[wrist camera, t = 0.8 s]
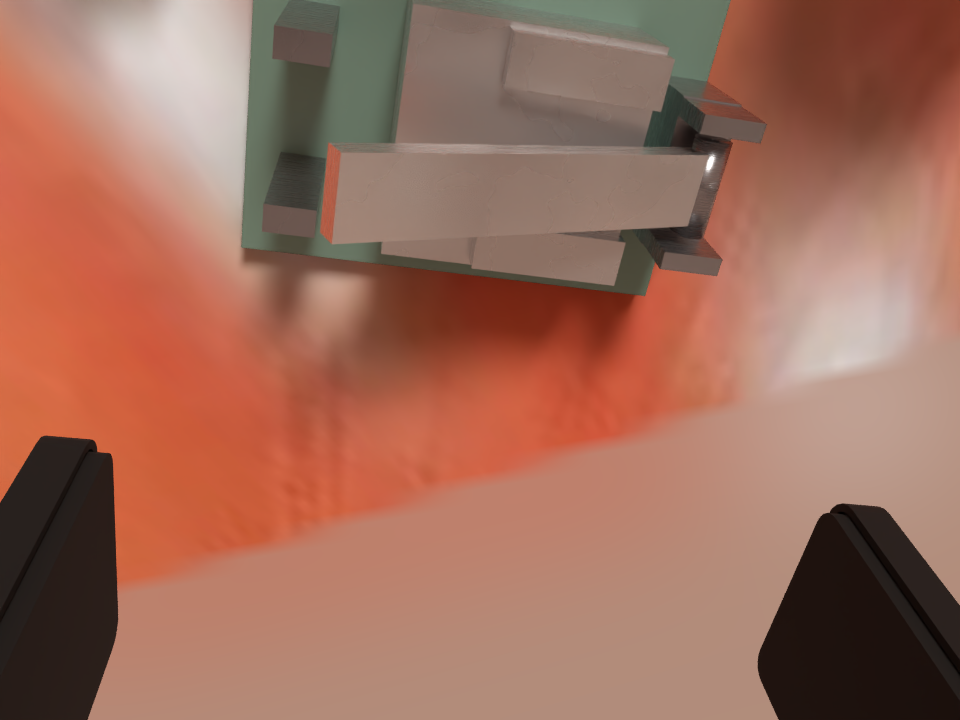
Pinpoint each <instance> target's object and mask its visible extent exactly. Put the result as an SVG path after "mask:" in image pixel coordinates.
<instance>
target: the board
mask: <svg viewBox="0 0 960 720" xmlns="http://www.w3.org/2000/svg"><path fill="white" fill-rule="evenodd" d="M306 1H312V2H318V3H324V4H330V5H336V6H340V10H339V21H338V32H337V38H336V42H335V46H334V51H333V55H332V60H331V64H330V68H329V67H322V66H316V65H310V64H303V63H297V62H291V61H284V60H278V59H272V52H273V35H274V24H275V23H276V21H277V20H278V18H279V16H280V15H281V13H282V12H283V10H284V8H285V7H286V5H287V4H288V2H289V0H253V18H252V38H251V59H250V80H249V100H248V121H247V141H246V162H245V183H244V203H243V224H242V245H241V247H243V248H251V249H259V250H268V251H276V252H284V253H292V254H301V255H309V256H317V257H326V258H334V259H342V260H351V261H359V262H367V263H376V264H384V265H392V266H400V267H409V268H417V269H425V270H434V271H442V272H450V273H459V274H467V275H475V276H483V277H492V278H500V279H508V280H517V281H525V282H533V283H542V284H550V285H558V286H567V287H575V288H583V289H591V290H600V291H608V292H616V293H625V294H633V295H641V296H645V294H646V291H647V288H648V284H649V281H650V277H651V274H652V270H653V267H654V263H655V261H654V259H653V258H652V256H651V255H650V253H649V252H648V251H647V249H646V248H645V246H644V245H642V244H641V242H640V241H639V239H638V238H637V236H636V235H635V233H634V232H633V231H632V229H625V230H621V232H620V235H621V236H622V238H623V239H624V241H625V242H626V243H625V247H624V251H623V255H622V258H621V262H620V266H619V269H618V273H617V277H616V281H615V284H614V286H612V285H603V284H595V283H587V282H579V281H571V280H562V279H554V278H546V277H538V276H529V275H521V274H513V273H505V272H497V271H488V270H480V269H472V268H471V265H469V264H461V263H453V262H445V261H436V260H428V259H420V258H412V257H404V256H396V255H387V254H381V242H368V243H348V244H331V243H330V242H329V241H328V240H327V239H326V238H325V237H324V236H323V235H322V234H321V233H320V227H321V216H322V206H323V195H324V184H325V173H326V163H327V152H328V142H349V143H390V137H391V129H392V121H393V113H394V105H395V97H396V89H397V82H398V74H399V66H400V58H401V50H402V42H403V34H404V26H405V18H406V10H407V2H408V0H306ZM485 1H490V2H496V3H502V4H508V5H513V6H519V7H525V8H530V9H536V10H542V11H548V12H553V13H559V14H565V15H570V16H576V17H582V18H587V19H593V20H599V21H605V22H610V23H616V24H622V25H627V26H633V27H638V28H640V29H641V30H643V31H645V32H646V33H648V34H649V35H651V36H652V37H654V38H655V39H657V40H658V41H660V42H661V43H663V44H665V45H666V46H668V47H669V51H668V55H669V56H671V57H672V58H674V59H675V62H674V65H673V69H672V73H671V76H676V77H682V78H688V79H694V80H700V81H706V82H707V80H708V77H709V73H710V70H711V66H712V63H713V60H714V56H715V53H716V49H717V46H718V42H719V39H720V35H721V32H722V28H723V25H724V22H725V18H726V15H727V11H728V8H729V4H730V1H731V0H485ZM280 152H285V153H292V154H300V155H307V156H314V157H321V158H326V162H325V173H324V183H323V189H322V195H321V201H320V207H319V213H318V219H317V225H316V231H315V237H314V238H310V237H301V236H293V235H285V234H277V233H269V232H262V219H263V204H264V201H265V198H266V195H267V192H268V189H269V186H270V183H271V180H272V176H273V173H274V170H275V167H276V164H277V161H278V158H279V155H280Z"/></svg>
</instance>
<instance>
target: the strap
mask: <svg viewBox="0 0 960 720" xmlns="http://www.w3.org/2000/svg"><path fill="white" fill-rule="evenodd" d="M732 144H733V143H732V142H731V141H729V140H727V139H725V138H722V137H716V136H710V135H703V134H696V135H695V138H694V142H693V145H692V147H636V146H564V145H492V144H421V143H349V142H328V152H327V163H326V173H325V184H324V195H323V206H322V216H321V227H320V233H321V234H322V235H323V236H324V237H325V238H326V239H327V240H328V241H329V242H330V243H331V244H348V243H368V242H387V241H407V240H427V239H447V238H466V237H486V236H506V235H526V234H546V233H565V232H585V231H605V230H625V229H644V228H664V227H669V228H668V229H669V231H670V232H672V233H674V234H675V235H678V236H681V237H684V238H688V239H702V238H703V237H704V234H705V230H706V227H707V224H708V221H709V218H710V214H711V211H712V208H713V205H714V202H715V198H716V195H717V192H718V189H719V186H720V182H721V179H722V176H723V173H724V170H725V167H726V163H727V160H728V157H729V154H730V151H731V147H732Z"/></svg>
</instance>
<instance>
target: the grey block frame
mask: <svg viewBox="0 0 960 720" xmlns="http://www.w3.org/2000/svg"><path fill="white" fill-rule="evenodd" d="M339 10H340V6H336V5H330V4H324V3H318V2H312V1H306V0H289V2H288V4H287V5H286V7H285V8H284V10H283V12H282V13H281V15H280V16H279V18H278V20H277V21H276V23H275V24H274V35H273V52H272V59H278V60H284V61H291V62H297V63H303V64H310V65H316V66H322V67H329V68H330V64H331V60H332V55H333V51H334V46H335V42H336V38H337V32H338V21H339ZM668 51H669V47H668V46H666V45H665V44H663V43H661V42H660V41H658V40H657V39H655V38H654V37H652V36H651V35H649V34H648V33H646V32H645V31H643V30H641V29H640V28H638V27H633V26H627V25H622V24H616V23H610V22H605V21H599V20H593V19H587V18H582V17H576V16H570V15H565V14H559V13H553V12H548V11H542V10H536V9H530V8H525V7H519V6H513V5H508V4H502V3H496V2H490V1H485V0H408V2H407V10H406V18H405V26H404V34H403V42H402V50H401V58H400V66H399V74H398V82H397V89H396V97H395V105H394V113H393V121H392V129H391V137H390V143H421V144H492V145H564V146H636V147H692V145H693V142H694V138H695V135H696V134H703V135H710V136H716V137H722V138H725V139H727V140H729V141H731V139H736V140H742V141H748V142H755V143H761V141H762V137H763V134H764V131H765V128H766V125H767V124H766V123H765V122H763V121H762V120H760V119H759V118H757V117H756V116H754V115H753V114H751V113H750V112H748V111H747V110H745V109H744V108H743V107H741V106H742V105H741V104H739V103H738V102H736V101H735V100H733V99H732V98H731V97H729V96H728V95H726V94H725V93H723V92H722V91H720V90H719V89H717V88H716V87H714V86H713V85H711V84H710V83H708V82H706V81H700V80H694V79H688V78H682V77H676V76H671V73H672V69H673V65H674V62H675V59H674V58H672V57H671V56H669V55H668ZM325 162H326V158H321V157H314V156H307V155H300V154H292V153H285V152H280V155H279V158H278V161H277V164H276V167H275V170H274V173H273V176H272V180H271V183H270V186H269V189H268V192H267V195H266V198H265V201H264V204H263V219H262V232H269V233H277V234H285V235H293V236H301V237H310V238H314V237H315V231H316V225H317V219H318V213H319V207H320V201H321V195H322V189H323V183H324V173H325ZM668 228H669V227H664V228H644V229H632V231H633V232H634V233H635V235H636V236H637V238H638V239H639V241H640V242H641V244H642V245H644V246H645V248H646V249H647V251H648V252H649V253H650V255H651V256H652V258H653V259H654V261H655V262H656V264H657V265H658V267H659V268H660V269H665V270H673V271H681V272H688V273H696V274H704V275H712V276H717V275H718V272H719V268H720V265H721V262H722V258H721V257H720V256H719V255H718V254H717V253H716V251H715V250H714V249H713V248H712V247H711V246H710V244H709V243H708V242H707V241H706V240H705V239H704V238H702V239H688V238H684V237H681V236H678V235H675V234H674V233H672V232H670V231H669V229H668ZM620 232H621V230H605V231H585V232H565V233H546V234H526V235H506V236H486V237H466V238H447V239H427V240H407V241H387V242H381V254H387V255H396V256H404V257H412V258H420V259H428V260H436V261H445V262H453V263H461V264H469V265H471V268H472V269H480V270H488V271H497V272H505V273H513V274H521V275H529V276H538V277H546V278H554V279H562V280H571V281H579V282H587V283H595V284H603V285H612V286H614V284H615V281H616V277H617V273H618V269H619V266H620V262H621V258H622V255H623V251H624V247H625V243H626V242H625V241H624V239H623V238H622V236H621V235H620Z"/></svg>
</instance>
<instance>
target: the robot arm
mask: <svg viewBox="0 0 960 720" xmlns="http://www.w3.org/2000/svg"><path fill="white" fill-rule="evenodd" d="M117 624H118V599H117V569H116V540H115V511H114V481H113V460H112V456H111V454H110V453H100V452H97V446H96V443H95V441H93V440H90V439H78V438H67V437H55V436H43V437H41V438H40V439H39V441H38V442H37V443H36V445H35V447H34V448H33V450H32V452H31V453H30V455H29V456H28V458H27V460H26V461H25V463H24V465H23V466H22V468H21V470H20V471H19V473H18V475H17V476H16V478H15V480H14V481H13V483H12V484H11V486H10V488H9V489H8V491H7V493H6V494H5V496H4V498H3V499H2V501H1V503H0V720H87V719H88V716H89V714H90V711H91V708H92V705H93V702H94V700H95V697H96V694H97V691H98V688H99V685H100V683H101V680H102V677H103V674H104V671H105V668H106V665H107V663H108V660H109V657H110V654H111V651H112V648H113V645H114V641H115V637H116V631H117ZM758 672H759V676H760V679H761V682H762V684H763V686H764V689H765V690H766V693H767V695H768V697H769V700H770V702H771V704H772V706H773V708H774V711H775V713H776V715H777V717H778V719H779V720H960V605H959V604H958V603H957V601H956V600H955V599H954V597H953V596H952V595H951V594H950V592H949V591H948V590H947V588H946V587H945V586H944V585H943V583H942V582H941V581H940V579H939V578H938V577H937V575H936V574H935V573H934V571H933V570H932V569H931V567H929V565H928V564H927V562H926V561H925V560H924V558H923V557H922V556H921V554H920V553H919V552H918V551H917V549H916V548H915V547H914V545H913V544H912V543H911V542H910V540H909V539H908V538H907V536H906V535H905V534H904V532H903V531H902V530H901V528H900V527H899V526H898V525H897V523H896V522H895V521H894V519H893V518H892V517H891V515H890V514H889V513H888V512H887V511H886V510H885V509H883V508H881V507H877V506H876V507H875V506H866V505H854V504H838V505H836V506H835V507H833V508H832V509H831V511H830V513H826V514H823V515H822V516H821V517H820V518H819V520H818V521H817V524H816V526H815V528H814V530H813V533H812V535H811V537H810V539H809V542H808V544H807V546H806V548H805V551H804V553H803V555H802V557H801V559H800V562H799V564H798V566H797V568H796V571H795V573H794V575H793V578H792V580H791V582H790V584H789V586H788V589H787V591H786V593H785V595H784V598H783V600H782V602H781V604H780V607H779V609H778V611H777V614H776V616H775V618H774V620H773V623H772V624H771V627H770V629H769V631H768V633H767V636H766V638H765V641H764V643H763V645H762V647H761V649H760V652H759V656H758Z"/></svg>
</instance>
